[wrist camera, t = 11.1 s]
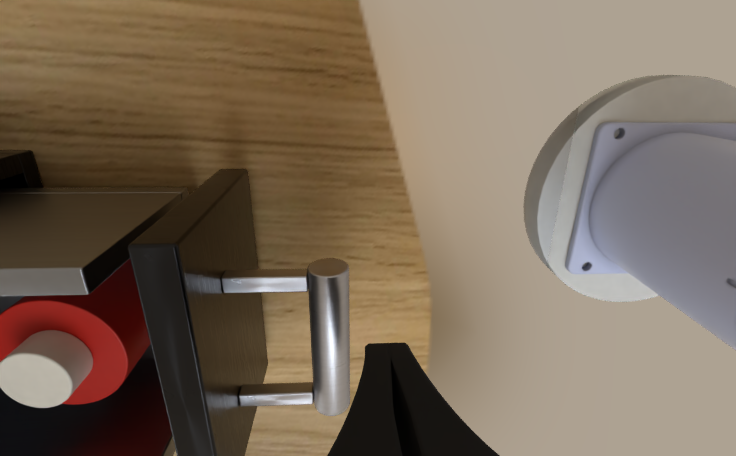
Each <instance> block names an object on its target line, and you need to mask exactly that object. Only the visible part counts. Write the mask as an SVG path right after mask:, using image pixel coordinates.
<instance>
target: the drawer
mask: <svg viewBox="0 0 736 456" xmlns="http://www.w3.org/2000/svg"><path fill="white" fill-rule="evenodd" d="M129 259H130V260H131V264H132V268H133V272H134V276H135V281H136V285H137V289H138V293H139V297H140V302H141V306H142V310H143V314H144V318H145V323H146V327H147V331H148V335H149V339H150V345H149V347H148V348H147V349H146V351H145V352H144V354H143V355H142V357H141V358H140V359H139V361H138V362H137V364H136V365H135V367H134V368H133V369H132V371H131V372H130V374H129V375H128V377H127V378H126V379H125V381H124V382H123V384H122V385H121V386H120V387H119V388H118V389H117V390H116V391H115V392H114V393H113V394H111V395H109V396H108V397H106V398H104V399H101V400H99V401H96V402H92V403H87V404H78V405H70V404H59V405H57V406H54V407H49V408H36V407H31V406H27V405H24V404H21V403H19V402H17V401H15V400H13V399H12V398H10V397H9V396H8V395H7V394H6V393H5V392H4V391H3V390H2V389H1V388H0V456H173V454H174V452H175V450H176V453H177V456H245V452H246V448H247V444H248V440H249V436H250V432H251V428H252V424H253V420H254V417H255V413H256V409H257V406H274V405H302V404H313V402H314V405H315V408H316V409H317V410H318V411H319V412H320V413H321V414H323V415H327V416H335V415H339V414H341V413H343V412H344V411H345V410H346V409H347V408H348V406H349V404H350V329H349V266H348V264H347V263H346V262H345V261H343V260H340V259H335V258H324V259H319V260H316V261H314V262H312V263H311V264H310V265H309V266H308V268H307V269H258V262H257V253H256V243H255V234H254V224H253V214H252V205H251V195H250V185H249V176H248V170H247V169H220V170H219V171H218V172H216V173H215V174H214V175H213V176H211V177H210V178H209V179H208V180H207V181H205V182H204V183H203V184H202V185H201V186H199V187H198V188H197V189H196V190H194V191H193V192H192V193H191V194H190V195H189V194H188V189H187V188H186V187H120V188H0V314H1V313H2V312H3V311H5V310H6V309H8V308H9V307H10V306H12V305H13V304H15V303H16V302H17V301H19V300H20V299H22V298H23V297H24V296H50V295H88V294H90V293H92V292H93V291H94V290H95V289H96V288H97V287H98V286H99V285H101V284H102V283H103V282H104V281H105V280H106V279H107V278H108V277H110V276H111V275H112V274H113V273H114V272H115V271H116V270H117V269H118V268H120V267H121V266H122V265H123V264H124V263H125V262H126V261H127V260H129ZM307 291H309V311H310V330H311V350H312V369H313V382H303V383H272V384H263V381H264V377H265V373H266V370H267V366H268V359H267V349H266V339H265V330H264V320H263V310H262V301H261V293H264V292H307Z"/></svg>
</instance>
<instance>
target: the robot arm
mask: <svg viewBox="0 0 736 456" xmlns="http://www.w3.org/2000/svg"><path fill="white" fill-rule="evenodd" d="M617 129H620V133H619V135H618V136H617V137H616V138H615V137H614V133H615V131H616V130H617ZM586 262H587V265H586V266H584V267H582V265H583V264H584V263H586ZM565 267H566V269H567V270H568V271H569V272H570V273H572V274H625V273H629V274H630V275H632V276H633V277H635V278H636V279H637V280H639V281H640V282H642V283H643V284H644V285H646V286H647V287H648V288H650V289H651V290H653V291H654V292H655V293H657V294H658V295H660V296H661V297H663V298H664V299H665V300H667V301H668V302H669V303H671V304H672V305H674V306H675V307H676V308H678V309H679V310H680V311H682V312H683V313H685V314H686V315H687V316H689V317H690V318H691V319H693V320H694V321H696V322H697V323H698V324H700V325H701V326H703V327H704V328H705V329H707V330H708V331H710V332H711V333H712V334H714V335H715V336H716V337H718V338H719V339H721V340H722V341H723V342H725V343H726V344H728V345H729V346H730V347H732V348H733V349H735V350H736V123H728V122H604V123H602V124H600V125H599V126H598V127H597V128H596V131H595V134H594V138H593V143H592V147H591V151H590V156H589V160H588V165H587V169H586V174H585V178H584V183H583V187H582V192H581V196H580V201H579V205H578V209H577V214H576V218H575V223H574V227H573V232H572V236H571V241H570V245H569V250H568V254H567V259H566V263H565ZM327 456H499V455H498V454H497V453H496V452H495V451H494V450H492V449H491V448H490V447H489V446H488V445H486V444H485V442H484V441H482V440H481V439H480V438H479V437H478V436H477V435H476V434H475V433H474V432H473V431H472V430H471V429H470V428H469V427H468V426H467V425H466V424H465V423H464V421H462V419H460V417H459V416H458V415H457V414H456V413H455V412H454V410H453V409H452V408H451V407H450V405H448V403H447V402H446V401H445V400H444V398H443V397H442V396H441V394H440V393H439V392H438V391H437V389H436V388H435V386H434V385H433V384H432V382H431V381H430V380H429V378H428V377H427V375H426V374H425V372H424V371H423V369H422V368H421V366H420V365H419V363H418V362H417V360H416V359H415V357H414V355H413V353H412V352H411V350H410V348H409V346H408V345H407V344H406V343H377V344H368V345H367V346H365V361H364V366H363V371H362V375H361V379H360V382H359V385H358V389H357V392H356V395H355V397H354V400H353V403H352V405H351V408H350V411H349V413H348V415H347V418H346V420H345V422H344V425H343V427H342V429H341V431H340V433H339V435H338V437H337V439H336V441H335V443H334V444H333V446H332V448H331V450H330V452H329V454H328V455H327Z"/></svg>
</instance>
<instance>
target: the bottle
mask: <svg viewBox="0 0 736 456" xmlns="http://www.w3.org/2000/svg"><path fill="white" fill-rule="evenodd" d="M149 345H150V339H149V335H148V331H147V327H146V323H145V318H144V314H143V310H142V306H141V302H140V297H139V293H138V289H137V285H136V281H135V276H134V272H133V268H132V264H131V260H130V259H129V260H127V261H126V262H125V263H124V264H123V265H122V266H121V267H120V268H118V269H117V270H116V271H115V272H114V273H113V274H112V275H111V276H110V277H108V278H107V279H106V280H105V281H104V282H103V283H102V284H101V285H99V286H98V287H97V288H96V289H95V290H94V291H93V292H92V293H90V294H88V295H50V296H24V297H23V298H22V299H20V300H19V301H17V302H16V303H15V304H13V305H12V306H10V307H9V308H8V309H6V310H5V311H3V312H2V313H1V314H0V388H1V389H2V390H3V391H4V392H5V393H6V394H7V395H8V396H9V397H10V398H12V399H13V400H15V401H17V402H19V403H21V404H24V405H27V406H31V407H36V408H49V407H54V406H57V405H59V404H70V405H78V404H87V403H92V402H96V401H99V400H101V399H104V398H106V397H108V396H109V395H111V394H113V393H114V392H115V391H116V390H117V389H118V388H119V387H120V386H121V385H122V384H123V382H124V381H125V379H126V378H127V377H128V375H129V374H130V372H131V371H132V369H133V368H134V367H135V365H136V364H137V362H138V361H139V359H140V358H141V357H142V355H143V354H144V352H145V351H146V349H147V348H148V347H149Z"/></svg>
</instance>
